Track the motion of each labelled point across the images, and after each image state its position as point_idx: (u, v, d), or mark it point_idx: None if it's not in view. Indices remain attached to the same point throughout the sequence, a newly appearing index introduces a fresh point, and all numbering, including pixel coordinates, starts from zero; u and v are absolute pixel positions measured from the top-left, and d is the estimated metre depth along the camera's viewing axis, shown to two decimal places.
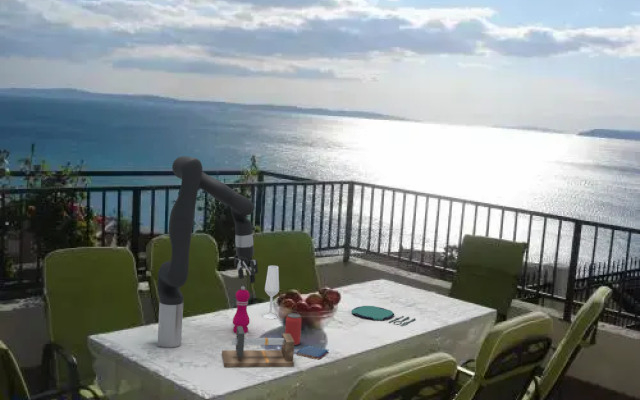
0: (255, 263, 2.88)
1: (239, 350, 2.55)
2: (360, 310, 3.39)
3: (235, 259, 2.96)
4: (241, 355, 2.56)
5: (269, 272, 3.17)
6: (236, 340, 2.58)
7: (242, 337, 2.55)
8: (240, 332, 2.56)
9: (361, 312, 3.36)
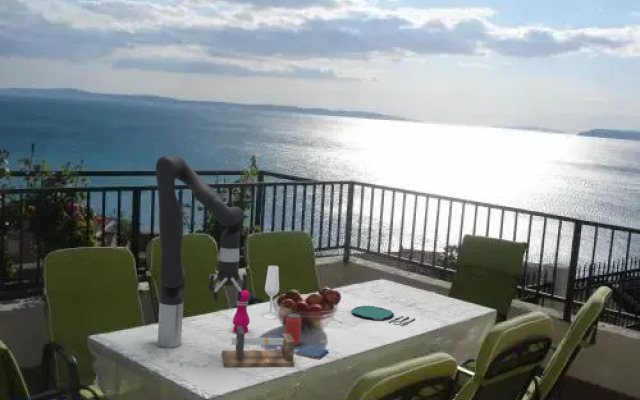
0: (210, 278, 2.57)
1: (239, 350, 2.55)
2: (360, 310, 3.39)
3: None
4: (241, 355, 2.56)
5: (269, 272, 3.17)
6: (236, 340, 2.58)
7: (242, 337, 2.55)
8: (240, 332, 2.56)
9: (361, 312, 3.36)
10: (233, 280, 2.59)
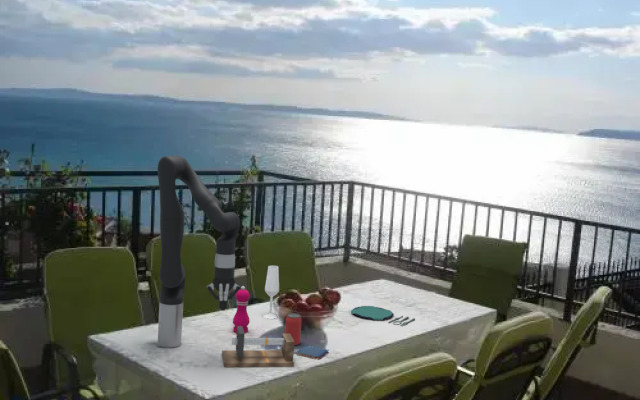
0: None
1: (239, 350, 2.55)
2: (359, 310, 3.39)
3: None
4: (241, 355, 2.56)
5: (269, 272, 3.17)
6: (236, 340, 2.58)
7: (242, 337, 2.55)
8: (240, 332, 2.56)
9: (360, 312, 3.36)
10: (227, 287, 2.57)
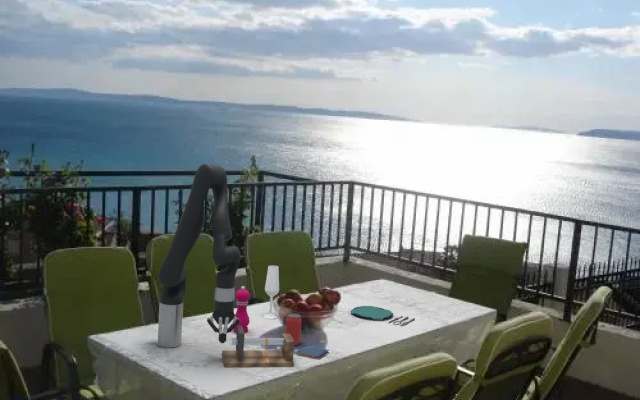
0: None
1: (239, 350, 2.55)
2: (359, 310, 3.39)
3: None
4: (241, 355, 2.56)
5: (269, 272, 3.17)
6: (236, 340, 2.58)
7: (242, 337, 2.55)
8: (240, 332, 2.56)
9: (360, 312, 3.35)
10: (227, 320, 2.59)
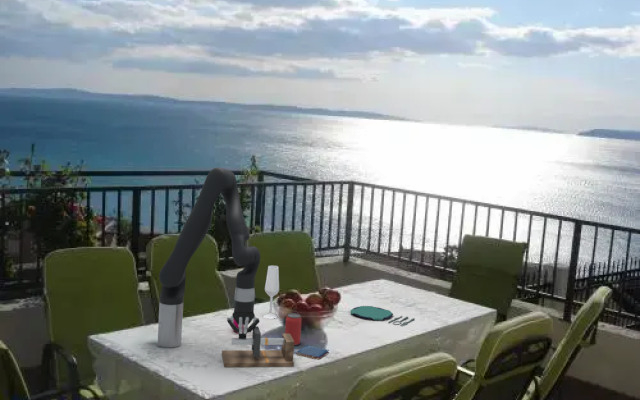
0: None
1: (255, 350, 2.57)
2: (359, 310, 3.38)
3: None
4: (257, 355, 2.57)
5: (269, 272, 3.17)
6: (236, 340, 2.58)
7: (258, 337, 2.56)
8: (256, 332, 2.57)
9: (360, 312, 3.35)
10: (247, 320, 2.60)
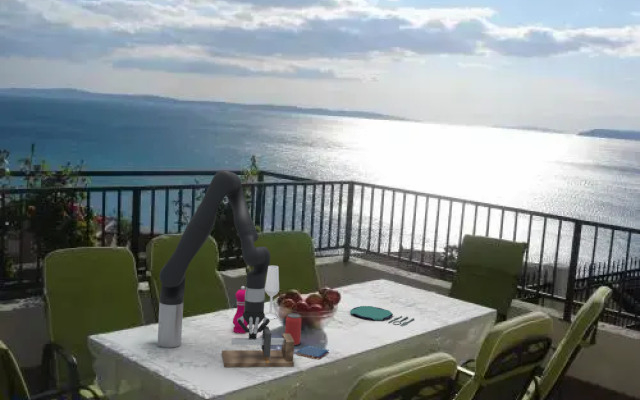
0: (239, 323, 2.61)
1: (266, 350, 2.57)
2: (358, 310, 3.38)
3: None
4: (268, 355, 2.58)
5: (269, 272, 3.17)
6: (236, 340, 2.58)
7: (269, 337, 2.57)
8: (267, 332, 2.58)
9: (360, 312, 3.35)
10: (257, 320, 2.61)
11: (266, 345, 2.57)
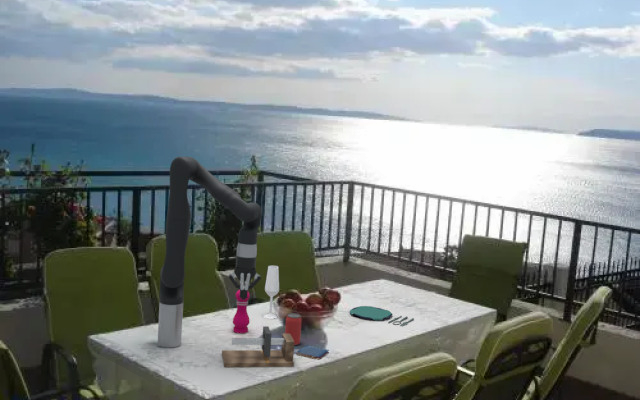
0: (230, 278, 2.61)
1: (266, 350, 2.57)
2: (358, 310, 3.38)
3: None
4: (268, 355, 2.58)
5: (269, 272, 3.17)
6: (236, 340, 2.58)
7: (269, 337, 2.57)
8: (267, 332, 2.58)
9: (359, 312, 3.35)
10: (248, 276, 2.60)
11: (266, 345, 2.57)
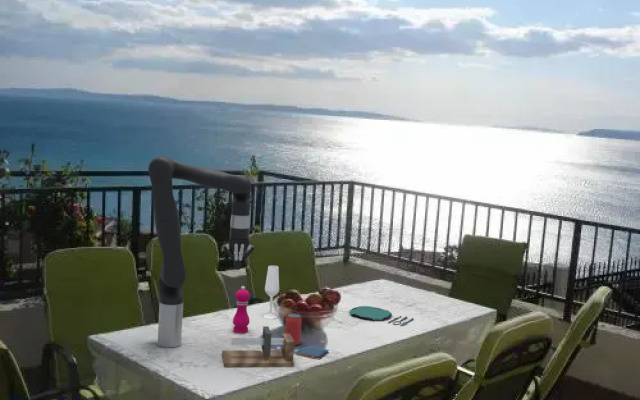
0: (224, 249, 2.69)
1: (266, 350, 2.57)
2: (357, 311, 3.38)
3: None
4: (268, 355, 2.58)
5: (269, 272, 3.17)
6: (236, 340, 2.58)
7: (269, 337, 2.57)
8: (267, 332, 2.58)
9: (359, 313, 3.35)
10: (242, 247, 2.69)
11: (266, 345, 2.57)
